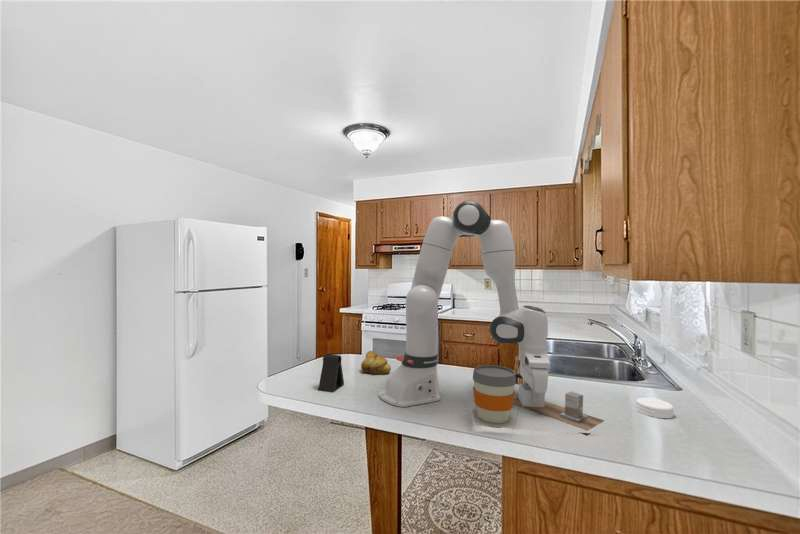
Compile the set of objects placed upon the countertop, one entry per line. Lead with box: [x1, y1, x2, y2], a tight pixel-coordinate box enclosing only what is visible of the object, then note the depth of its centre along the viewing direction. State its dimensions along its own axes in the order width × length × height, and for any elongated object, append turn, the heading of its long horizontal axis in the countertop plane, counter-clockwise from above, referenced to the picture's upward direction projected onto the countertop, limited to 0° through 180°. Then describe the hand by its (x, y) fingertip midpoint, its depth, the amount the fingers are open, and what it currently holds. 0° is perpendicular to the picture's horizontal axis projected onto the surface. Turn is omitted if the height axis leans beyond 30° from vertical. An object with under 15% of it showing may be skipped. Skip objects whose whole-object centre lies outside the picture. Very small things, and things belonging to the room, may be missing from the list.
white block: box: [518, 383, 546, 408], centre depth 121 cm, size 7×7×6 cm
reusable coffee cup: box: [472, 364, 517, 429], centre depth 109 cm, size 13×13×15 cm
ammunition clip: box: [513, 355, 525, 385], centre depth 139 cm, size 11×2×12 cm, turn 67°
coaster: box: [635, 396, 675, 419], centre depth 119 cm, size 10×10×4 cm
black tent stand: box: [317, 353, 345, 393], centre depth 135 cm, size 9×6×12 cm, turn 164°
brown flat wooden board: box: [513, 391, 605, 437], centre depth 115 cm, size 11×26×8 cm, turn 39°
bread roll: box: [360, 350, 392, 375], centre depth 155 cm, size 13×10×8 cm
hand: (531, 397), depth 121 cm, fingers closed on white block, 7 cm apart
